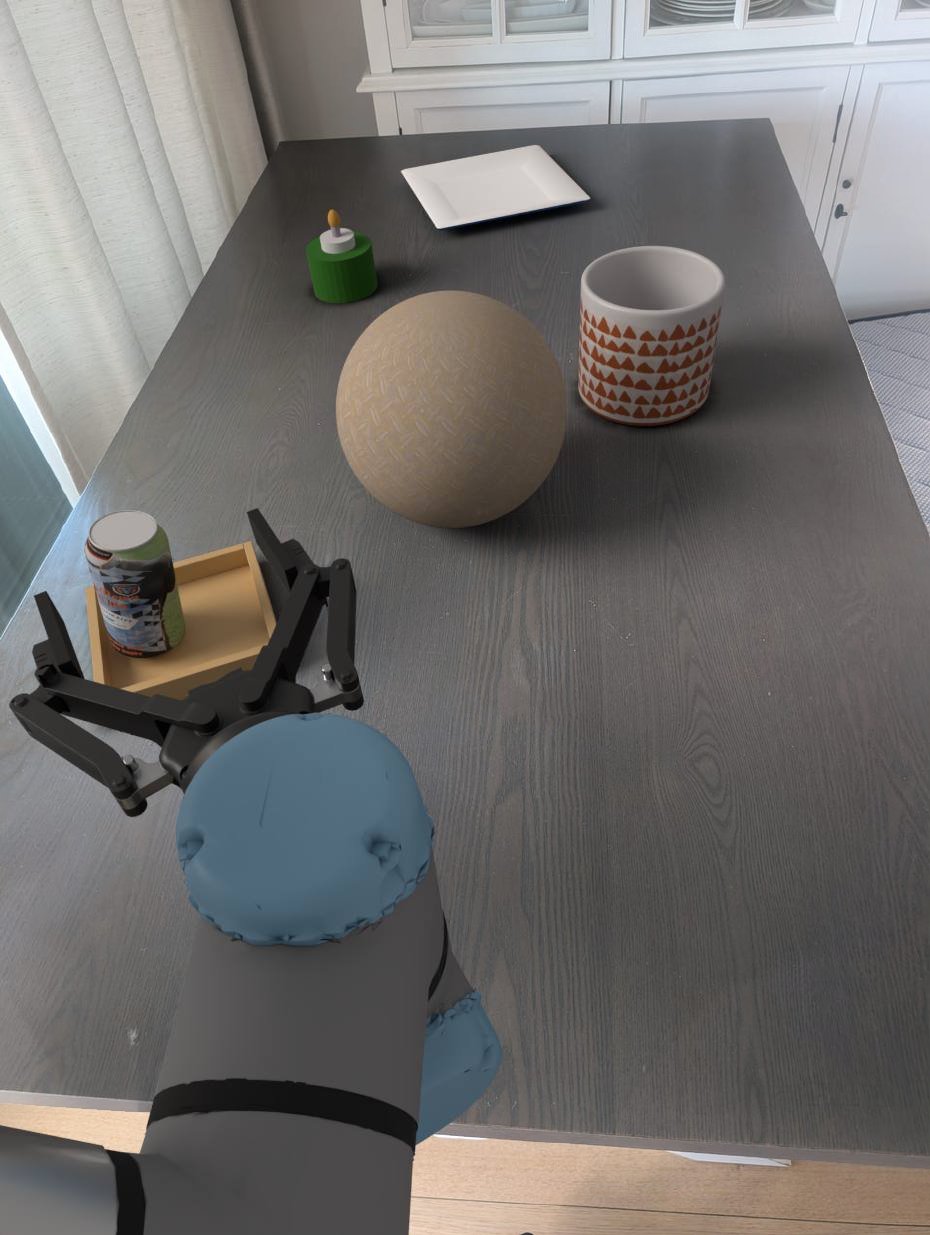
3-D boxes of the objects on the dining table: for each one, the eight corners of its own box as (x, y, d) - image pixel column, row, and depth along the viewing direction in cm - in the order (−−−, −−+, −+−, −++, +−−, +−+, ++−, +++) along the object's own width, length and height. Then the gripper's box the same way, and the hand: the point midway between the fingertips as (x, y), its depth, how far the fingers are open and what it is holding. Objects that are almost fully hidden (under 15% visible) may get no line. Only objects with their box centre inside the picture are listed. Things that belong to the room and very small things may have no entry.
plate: (590, 212, 126) (591, 197, 125) (438, 242, 123) (437, 227, 122) (538, 157, 141) (538, 143, 140) (401, 182, 138) (400, 168, 137)
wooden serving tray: (108, 724, 70) (95, 703, 68) (96, 608, 79) (85, 587, 77) (289, 667, 73) (283, 645, 71) (258, 561, 81) (251, 540, 80)
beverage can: (104, 638, 75) (45, 532, 67) (182, 596, 78) (136, 488, 69) (135, 682, 72) (78, 575, 63) (216, 635, 75) (172, 527, 66)
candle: (328, 270, 120) (313, 194, 113) (386, 274, 118) (375, 196, 111) (304, 300, 115) (287, 222, 107) (364, 305, 113) (351, 226, 105)
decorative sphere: (379, 597, 77) (338, 399, 63) (339, 463, 91) (298, 274, 76) (597, 543, 80) (607, 341, 65) (527, 421, 93) (522, 230, 79)
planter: (611, 441, 90) (618, 325, 80) (558, 374, 99) (559, 262, 90) (733, 408, 92) (753, 292, 83) (670, 345, 101) (682, 234, 92)
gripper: (56, 980, 43) (-19, 686, 56) (501, 746, 50) (344, 535, 63) (-15, 911, 37) (-80, 603, 50) (497, 660, 45) (325, 449, 58)
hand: (156, 565), depth 57 cm, fingers open, 13 cm apart
